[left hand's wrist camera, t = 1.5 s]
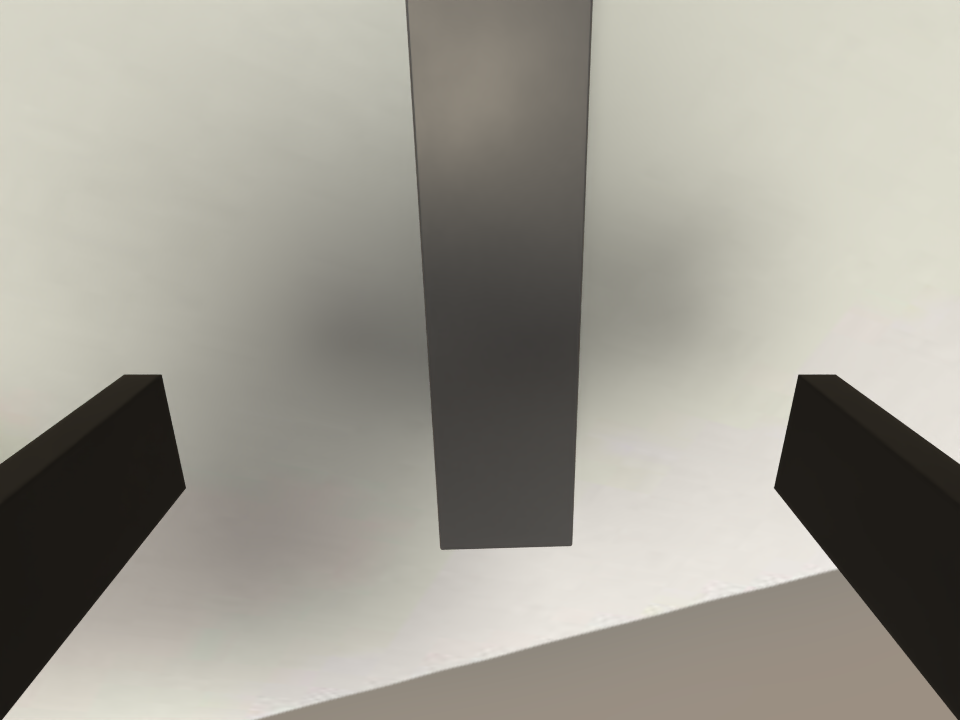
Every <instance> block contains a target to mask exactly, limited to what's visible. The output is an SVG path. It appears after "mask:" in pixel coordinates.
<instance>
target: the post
mask: <svg viewBox="0 0 960 720" xmlns="http://www.w3.org/2000/svg"><path fill="white" fill-rule="evenodd" d="M592 6H593V0H406V16H407V31H408V47H409V63H410V79H411V94H412V110H413V126H414V142H415V157H416V173H417V189H418V205H419V220H420V236H421V252H422V268H423V283H424V299H425V315H426V331H427V346H428V362H429V378H430V394H431V409H432V425H433V441H434V457H435V472H436V488H437V504H438V520H439V535H440V548H441V549H442V550H449V549H484V548H518V547H553V546H572V537H573V510H574V484H575V457H576V431H577V404H578V378H579V351H580V325H581V298H582V272H583V245H584V219H585V192H586V165H587V139H588V112H589V86H590V59H591V33H592Z"/></svg>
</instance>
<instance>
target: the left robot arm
mask: <svg viewBox="0 0 960 720" xmlns="http://www.w3.org/2000/svg"><path fill="white" fill-rule="evenodd" d="M185 489H186V486H185V482H184V477H183V472H182V468H181V463H180V458H179V454H178V449H177V444H176V440H175V435H174V430H173V426H172V421H171V416H170V412H169V407H168V402H167V398H166V393H165V389H164V384H163V379H162V375H123V376H122V377H120V378H119V379H118V380H116V381H115V382H113V383H112V384H111V385H109V386H108V387H107V388H105V389H104V390H102V391H101V392H100V393H98V394H97V395H95V396H94V397H93V398H91V399H90V400H89V401H87V402H86V403H84V404H83V405H82V406H80V407H79V408H77V409H76V410H75V411H73V412H72V413H71V414H69V415H68V416H66V417H65V418H64V419H62V420H61V421H59V422H58V423H57V424H55V425H54V426H53V427H51V428H50V429H48V430H47V431H46V432H44V433H43V434H41V435H40V436H39V437H37V438H36V439H35V440H33V441H32V442H30V443H29V444H28V445H26V446H25V447H23V448H22V449H21V450H19V451H18V452H17V453H15V454H14V455H12V456H11V457H10V458H8V459H7V460H5V461H4V462H3V463H1V464H0V720H2V719H3V718H4V717H5V715H6V714H7V713H8V712H9V710H10V709H11V708H12V707H13V705H14V704H15V703H16V702H17V700H18V699H19V698H20V697H21V695H22V694H23V693H24V691H25V690H26V689H27V688H28V686H29V685H30V684H31V683H32V681H33V680H34V679H35V678H36V676H37V675H38V674H39V673H40V671H41V670H42V669H43V668H44V666H45V665H46V664H47V662H48V661H49V660H50V659H51V657H52V656H53V655H54V654H55V652H56V651H57V650H58V649H59V647H60V646H61V645H62V644H63V642H64V641H65V640H66V639H67V637H68V636H69V635H70V634H71V632H72V631H73V630H74V628H75V627H76V626H77V625H78V623H79V622H80V621H81V620H82V618H83V617H84V616H85V615H86V613H87V612H88V611H89V610H90V608H91V607H92V606H93V605H94V603H95V602H96V601H97V600H98V598H99V597H100V596H101V594H102V593H103V592H104V591H105V589H106V588H107V587H108V586H109V584H110V583H111V582H112V581H113V579H114V578H115V577H116V576H117V574H118V573H119V572H120V571H121V569H122V568H123V567H124V565H125V564H126V563H127V562H128V560H129V559H130V558H131V557H132V555H133V554H134V553H135V552H136V550H137V549H138V548H139V547H140V545H141V544H142V543H143V542H144V540H145V539H146V538H147V537H148V535H149V534H150V533H151V531H152V530H153V529H154V528H155V526H156V525H157V524H158V523H159V521H160V520H161V519H162V518H163V516H164V515H165V514H166V513H167V511H168V510H169V509H170V508H171V506H172V505H173V504H174V503H175V501H176V500H177V499H178V497H179V496H180V495H181V494H182V492H183V491H184V490H185ZM774 489H775V490H776V491H777V492H778V494H779V495H780V496H781V497H782V499H783V500H784V501H785V503H786V504H787V505H788V506H789V508H790V509H791V510H792V511H793V513H794V514H795V515H796V516H797V518H798V519H799V520H800V521H801V523H802V524H803V525H804V526H805V528H806V529H807V530H808V531H809V533H810V534H811V535H812V537H813V538H814V539H815V540H816V542H817V543H818V544H819V545H820V547H821V548H822V549H823V550H824V552H825V553H826V554H827V555H828V557H829V558H830V559H831V560H832V562H833V563H834V564H835V565H836V567H837V568H838V569H839V571H840V572H841V573H842V574H843V576H844V577H845V578H846V579H847V581H848V582H849V583H850V584H851V586H852V587H853V588H854V589H855V591H856V592H857V593H858V594H859V596H860V597H861V598H862V600H863V601H864V602H865V603H866V604H867V606H868V607H869V608H870V610H871V611H872V612H873V613H874V615H875V616H876V617H877V618H878V620H879V621H880V622H881V623H882V625H883V626H884V627H885V628H886V630H887V631H888V632H889V633H890V635H891V636H892V637H893V639H894V640H895V641H896V642H897V644H898V645H899V646H900V647H901V649H902V650H903V651H904V652H905V654H906V655H907V656H908V657H909V659H910V660H911V661H912V662H913V664H914V665H915V666H916V668H917V669H918V670H919V671H920V673H921V674H922V675H923V676H924V678H925V679H926V680H927V681H928V683H929V684H930V685H931V686H932V688H933V689H934V690H935V691H936V693H937V694H938V695H939V696H940V698H941V699H942V700H943V702H944V703H945V704H946V705H947V707H948V708H949V709H950V710H951V712H952V713H953V714H954V715H955V717H956V718H957V719H958V720H960V464H959V463H957V462H956V461H955V460H953V459H952V458H950V457H949V456H948V455H946V454H945V453H943V452H942V451H941V450H939V449H938V448H937V447H935V446H934V445H932V444H931V443H930V442H928V441H927V440H925V439H924V438H923V437H921V436H920V435H919V434H917V433H916V432H914V431H913V430H912V429H910V428H909V427H907V426H906V425H905V424H903V423H902V422H901V421H899V420H898V419H896V418H895V417H894V416H892V415H891V414H889V413H888V412H887V411H885V410H884V409H883V408H881V407H880V406H878V405H877V404H876V403H874V402H873V401H871V400H870V399H869V398H867V397H866V396H865V395H863V394H862V393H860V392H859V391H858V390H856V389H855V388H853V387H852V386H851V385H849V384H848V383H847V382H845V381H844V380H842V379H841V378H840V377H838V376H837V375H798V379H797V384H796V389H795V393H794V398H793V402H792V407H791V412H790V416H789V421H788V426H787V430H786V435H785V440H784V444H783V449H782V454H781V458H780V463H779V468H778V472H777V477H776V482H775V486H774Z"/></svg>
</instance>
